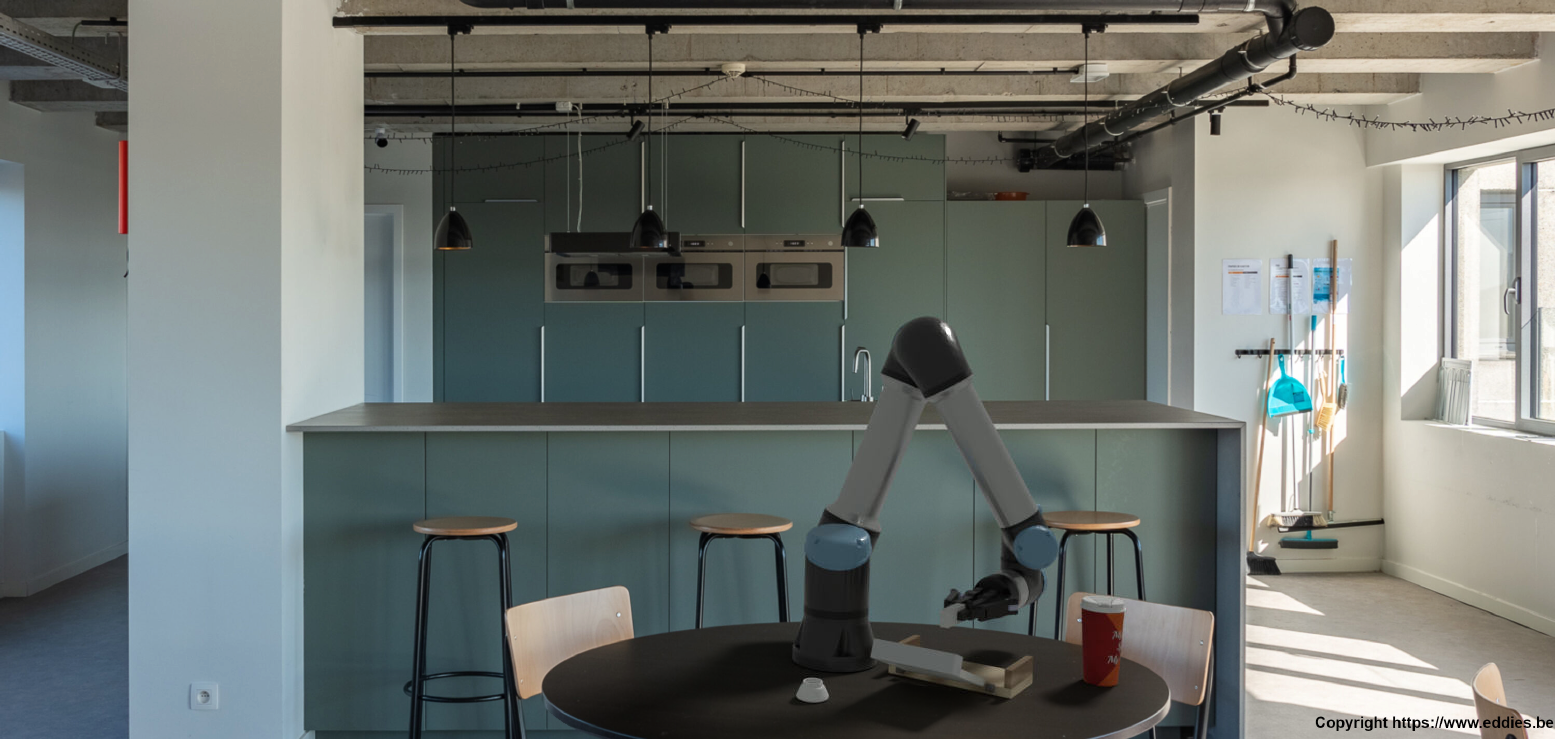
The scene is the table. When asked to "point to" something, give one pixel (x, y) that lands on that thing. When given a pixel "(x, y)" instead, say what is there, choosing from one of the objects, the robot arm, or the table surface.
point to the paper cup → (1102, 639)
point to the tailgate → (923, 661)
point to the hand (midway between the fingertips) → (944, 619)
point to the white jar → (812, 691)
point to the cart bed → (981, 675)
